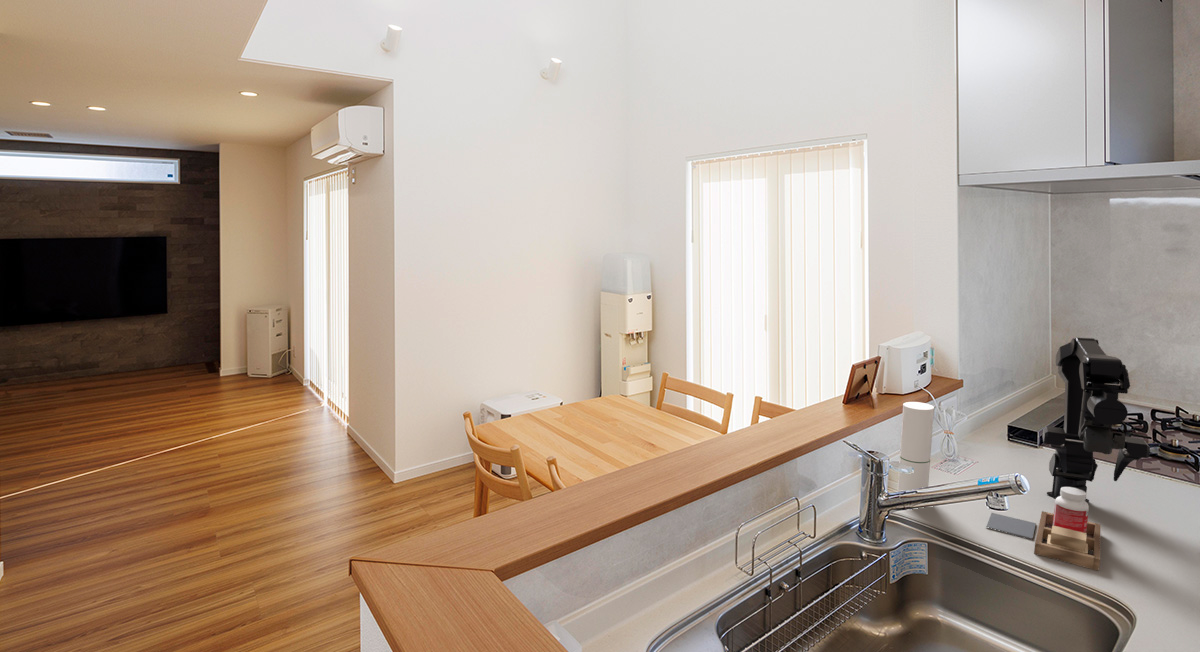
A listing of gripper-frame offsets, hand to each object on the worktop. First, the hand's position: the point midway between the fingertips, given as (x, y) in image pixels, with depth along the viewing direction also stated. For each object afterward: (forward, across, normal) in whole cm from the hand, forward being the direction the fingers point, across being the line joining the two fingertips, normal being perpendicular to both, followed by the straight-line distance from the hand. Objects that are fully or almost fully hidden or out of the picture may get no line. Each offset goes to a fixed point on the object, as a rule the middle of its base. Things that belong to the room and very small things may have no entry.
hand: (1089, 476), depth 141 cm
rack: (+13, -4, -10) cm, 17 cm away
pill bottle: (+13, -3, -6) cm, 15 cm away
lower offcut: (+13, -4, -15) cm, 20 cm away
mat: (+13, -14, -7) cm, 21 cm away
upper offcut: (+11, -4, -15) cm, 19 cm away
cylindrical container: (+13, -36, -1) cm, 38 cm away
